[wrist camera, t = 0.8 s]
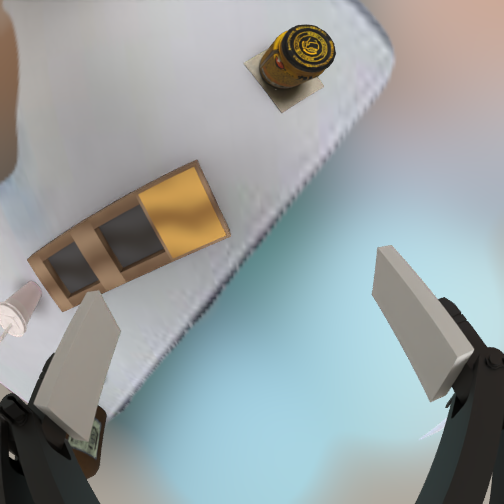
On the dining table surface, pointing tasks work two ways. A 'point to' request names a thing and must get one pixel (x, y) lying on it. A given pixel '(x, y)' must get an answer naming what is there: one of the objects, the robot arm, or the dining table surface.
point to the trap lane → (132, 237)
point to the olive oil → (90, 445)
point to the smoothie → (19, 309)
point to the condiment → (293, 64)
